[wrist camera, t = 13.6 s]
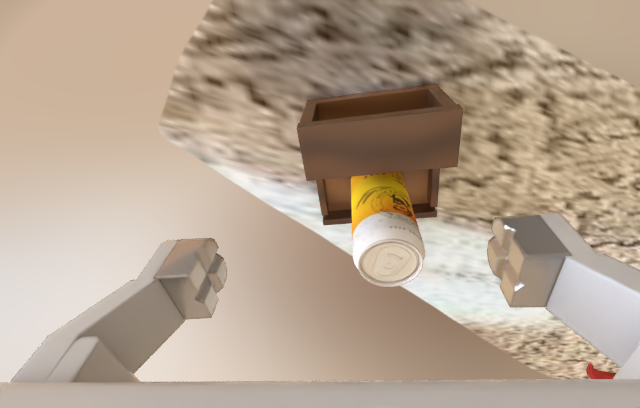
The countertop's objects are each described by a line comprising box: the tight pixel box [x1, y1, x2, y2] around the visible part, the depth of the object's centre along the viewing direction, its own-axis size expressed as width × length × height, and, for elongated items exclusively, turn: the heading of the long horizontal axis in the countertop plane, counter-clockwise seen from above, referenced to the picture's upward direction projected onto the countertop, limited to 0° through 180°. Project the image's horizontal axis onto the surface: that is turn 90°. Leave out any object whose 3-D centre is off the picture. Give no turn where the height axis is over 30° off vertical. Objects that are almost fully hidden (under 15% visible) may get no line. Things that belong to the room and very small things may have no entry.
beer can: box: [351, 172, 425, 287], centre depth 33 cm, size 6×6×15 cm
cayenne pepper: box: [587, 364, 616, 379], centre depth 60 cm, size 12×5×2 cm, turn 52°
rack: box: [297, 84, 463, 225], centre depth 35 cm, size 15×14×9 cm
